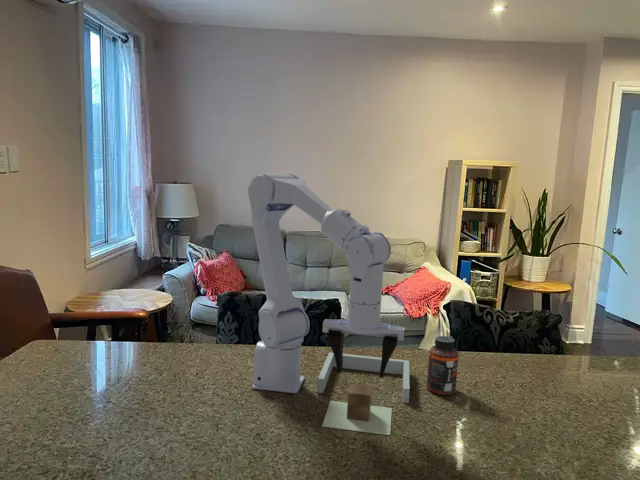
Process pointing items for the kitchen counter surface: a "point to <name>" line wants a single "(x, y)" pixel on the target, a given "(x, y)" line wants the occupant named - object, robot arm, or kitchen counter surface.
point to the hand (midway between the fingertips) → (360, 373)
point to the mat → (376, 424)
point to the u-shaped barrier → (366, 369)
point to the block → (359, 402)
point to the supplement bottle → (442, 366)
